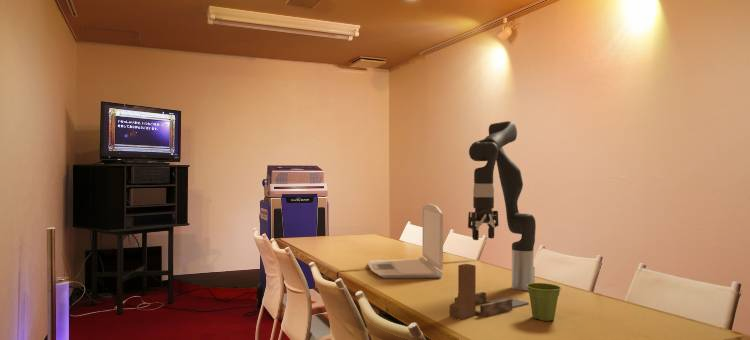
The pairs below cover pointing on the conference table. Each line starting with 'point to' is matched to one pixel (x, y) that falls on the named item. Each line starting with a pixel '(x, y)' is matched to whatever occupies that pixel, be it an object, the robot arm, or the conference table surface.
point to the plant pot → (543, 300)
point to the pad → (514, 302)
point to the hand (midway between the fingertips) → (483, 239)
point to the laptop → (430, 252)
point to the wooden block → (465, 293)
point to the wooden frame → (491, 305)
